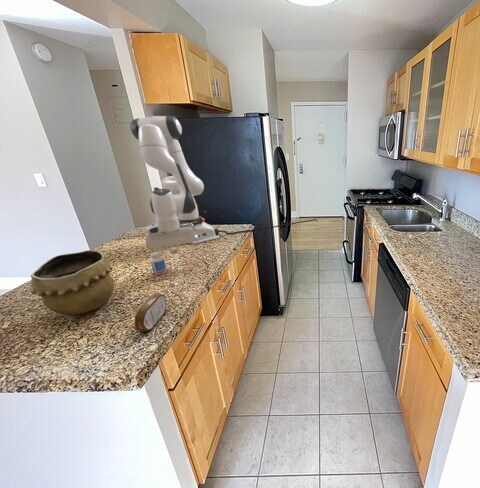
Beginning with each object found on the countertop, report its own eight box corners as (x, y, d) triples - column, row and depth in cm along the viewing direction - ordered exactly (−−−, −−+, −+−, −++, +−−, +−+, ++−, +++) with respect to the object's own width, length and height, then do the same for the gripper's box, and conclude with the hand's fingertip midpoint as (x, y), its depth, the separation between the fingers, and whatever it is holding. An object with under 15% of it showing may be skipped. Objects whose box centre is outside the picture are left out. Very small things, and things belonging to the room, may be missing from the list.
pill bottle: (169, 270, 124) (165, 251, 121) (162, 275, 119) (157, 256, 116) (159, 269, 125) (154, 250, 121) (151, 274, 120) (145, 255, 116)
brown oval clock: (161, 308, 95) (156, 289, 92) (170, 308, 96) (165, 288, 93) (137, 337, 82) (130, 315, 78) (148, 336, 82) (141, 314, 79)
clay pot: (108, 321, 89) (89, 269, 81) (30, 333, 83) (2, 279, 76) (132, 290, 107) (117, 245, 100) (69, 298, 102) (49, 251, 94)
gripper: (192, 220, 126) (197, 247, 131) (142, 227, 115) (149, 255, 120) (194, 224, 121) (199, 251, 126) (142, 230, 110) (149, 260, 115)
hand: (174, 253), depth 123 cm, fingers closed
